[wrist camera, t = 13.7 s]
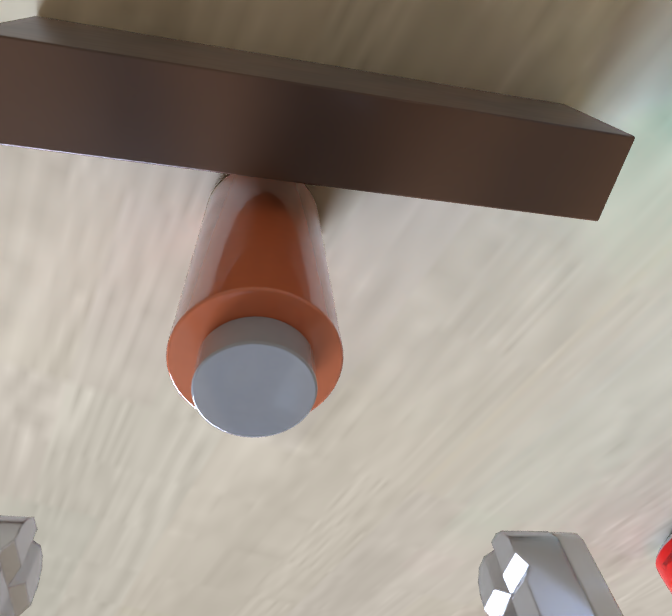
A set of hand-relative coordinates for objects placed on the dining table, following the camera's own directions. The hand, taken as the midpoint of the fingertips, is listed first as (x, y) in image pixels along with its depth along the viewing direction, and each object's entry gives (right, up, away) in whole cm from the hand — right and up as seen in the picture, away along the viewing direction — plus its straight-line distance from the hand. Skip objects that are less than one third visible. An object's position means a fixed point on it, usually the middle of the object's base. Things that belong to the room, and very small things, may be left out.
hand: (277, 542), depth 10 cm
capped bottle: (-2, +8, +13) cm, 16 cm away
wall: (0, +12, +11) cm, 16 cm away
